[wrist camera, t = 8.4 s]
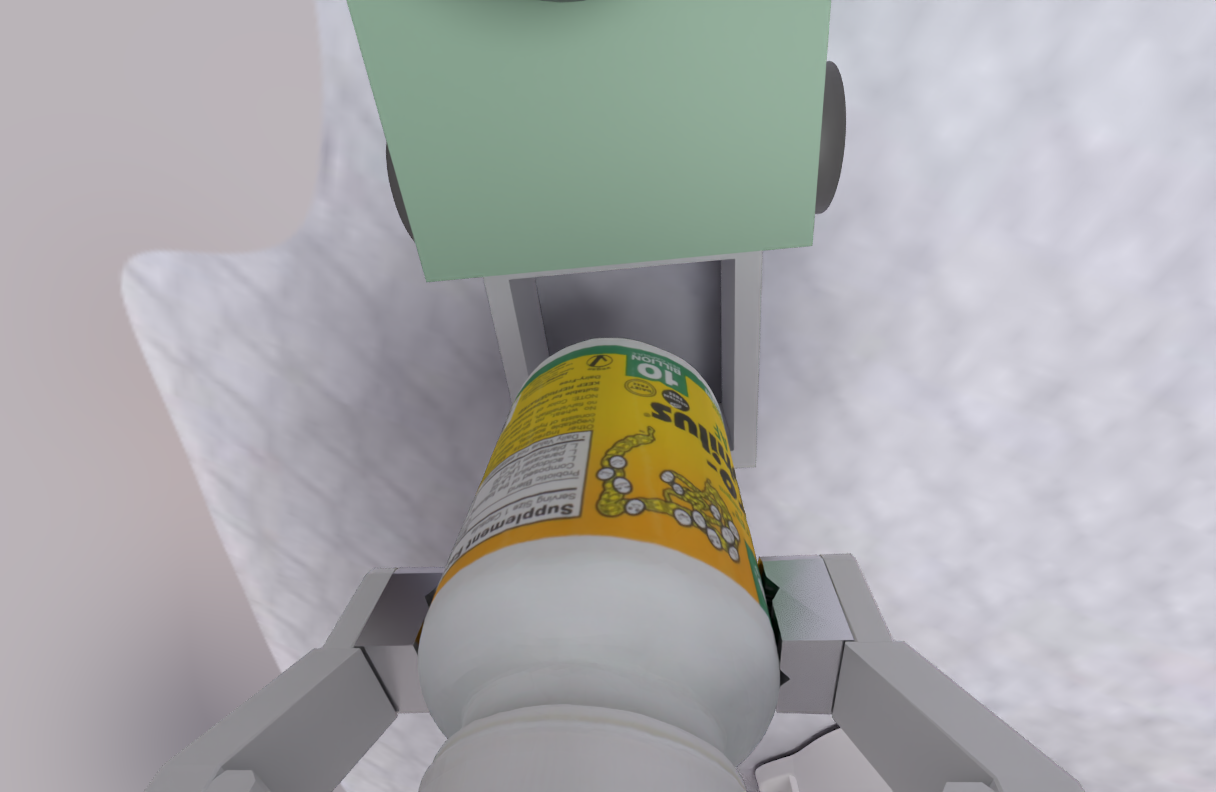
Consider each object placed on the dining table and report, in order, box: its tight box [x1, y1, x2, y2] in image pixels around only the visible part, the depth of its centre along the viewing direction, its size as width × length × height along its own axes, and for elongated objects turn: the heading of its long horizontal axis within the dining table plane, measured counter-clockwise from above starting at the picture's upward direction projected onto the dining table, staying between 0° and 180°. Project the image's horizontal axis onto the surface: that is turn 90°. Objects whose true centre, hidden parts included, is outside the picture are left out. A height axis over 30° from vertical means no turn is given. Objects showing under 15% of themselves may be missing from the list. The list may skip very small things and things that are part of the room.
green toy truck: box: [347, 0, 846, 468], centre depth 13 cm, size 23×12×10 cm, turn 6°
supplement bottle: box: [418, 338, 780, 792], centre depth 9 cm, size 5×5×10 cm
